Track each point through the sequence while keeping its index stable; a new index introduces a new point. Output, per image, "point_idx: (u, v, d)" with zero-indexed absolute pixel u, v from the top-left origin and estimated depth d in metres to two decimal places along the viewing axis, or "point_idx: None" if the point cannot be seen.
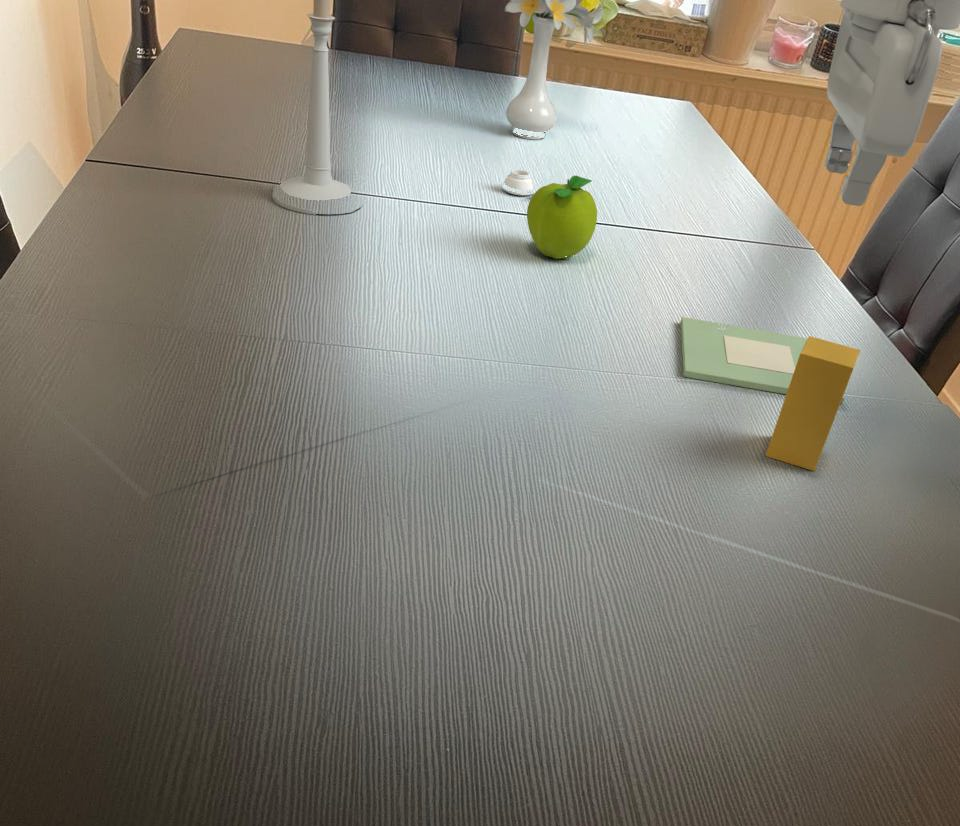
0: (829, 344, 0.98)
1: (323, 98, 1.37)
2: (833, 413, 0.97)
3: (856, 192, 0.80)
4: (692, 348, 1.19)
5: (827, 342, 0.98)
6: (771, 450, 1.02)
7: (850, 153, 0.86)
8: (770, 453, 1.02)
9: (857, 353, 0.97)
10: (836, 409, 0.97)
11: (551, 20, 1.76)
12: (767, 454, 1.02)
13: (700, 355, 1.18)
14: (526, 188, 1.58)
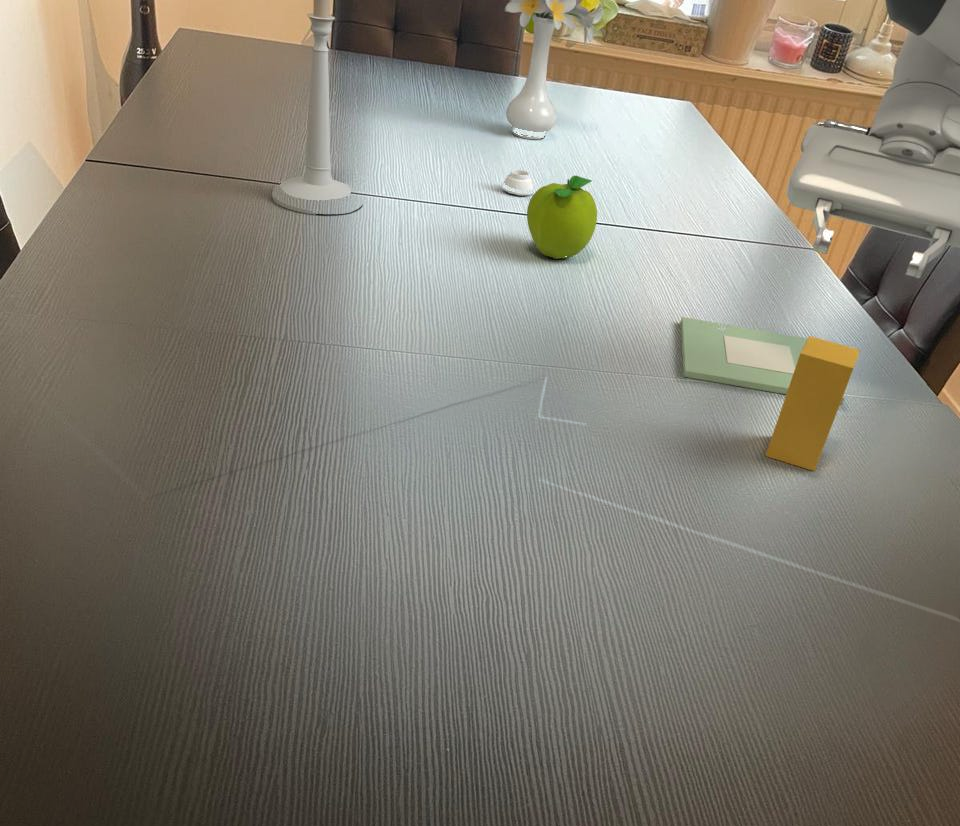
0: (829, 344, 0.98)
1: (323, 98, 1.37)
2: (833, 413, 0.97)
3: None
4: (692, 348, 1.19)
5: (827, 342, 0.98)
6: (771, 450, 1.02)
7: None
8: (770, 453, 1.02)
9: (857, 353, 0.97)
10: (836, 409, 0.97)
11: (551, 20, 1.76)
12: (767, 454, 1.02)
13: (700, 355, 1.18)
14: (526, 188, 1.58)
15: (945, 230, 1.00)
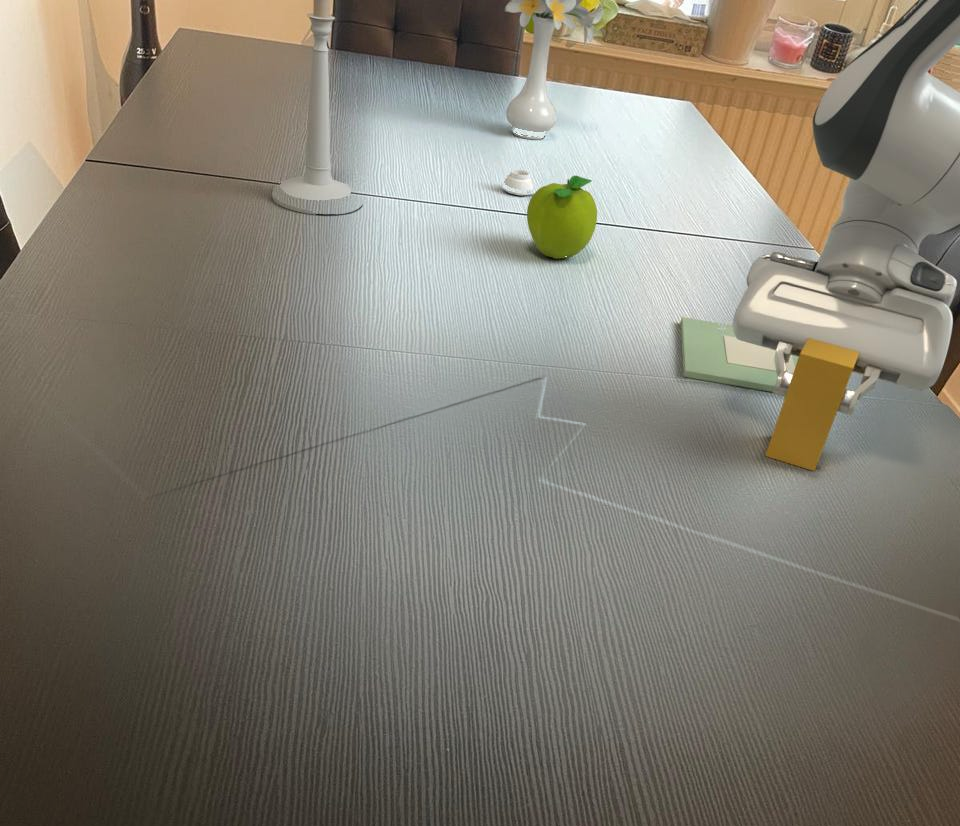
0: (829, 344, 0.98)
1: (323, 98, 1.37)
2: (833, 413, 0.97)
3: None
4: (692, 348, 1.19)
5: None
6: (771, 450, 1.02)
7: None
8: (770, 453, 1.02)
9: (857, 353, 0.97)
10: (836, 409, 0.97)
11: (551, 20, 1.76)
12: (767, 454, 1.02)
13: (700, 355, 1.18)
14: (526, 188, 1.58)
15: (876, 368, 0.97)
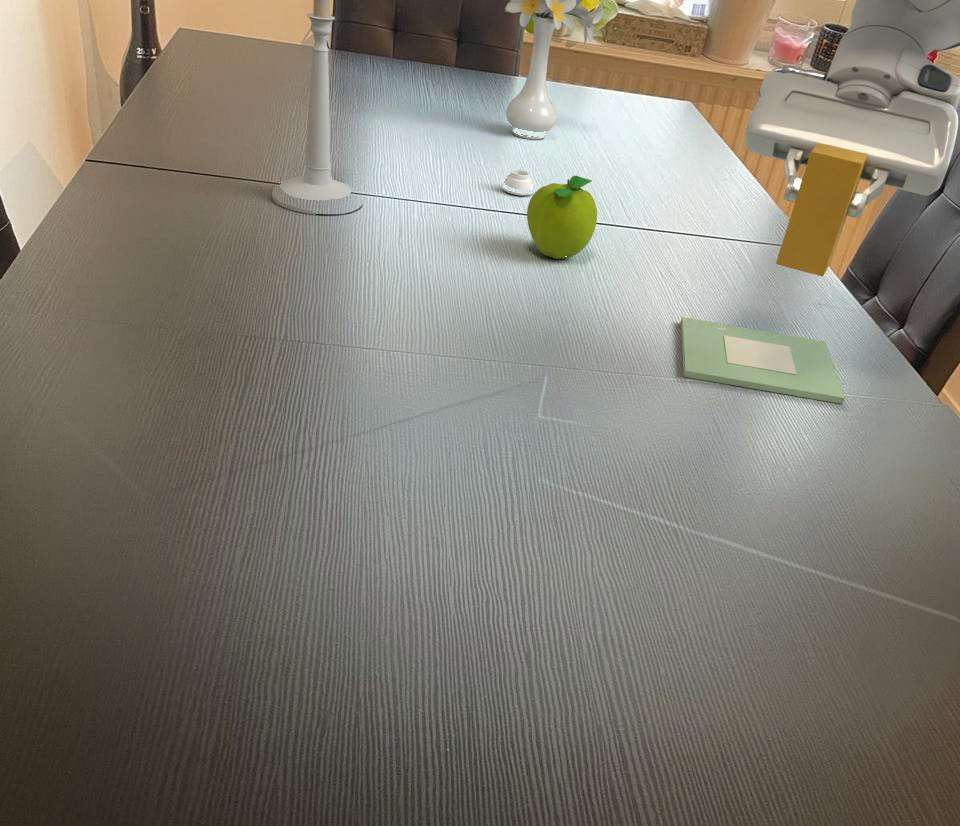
0: (839, 147, 1.01)
1: (323, 98, 1.37)
2: (842, 213, 1.00)
3: None
4: (692, 348, 1.19)
5: None
6: (781, 257, 1.05)
7: (853, 193, 1.01)
8: (780, 260, 1.05)
9: (865, 154, 1.00)
10: (845, 208, 1.00)
11: (551, 20, 1.76)
12: (777, 262, 1.05)
13: (700, 355, 1.18)
14: (526, 188, 1.58)
15: (884, 170, 1.01)
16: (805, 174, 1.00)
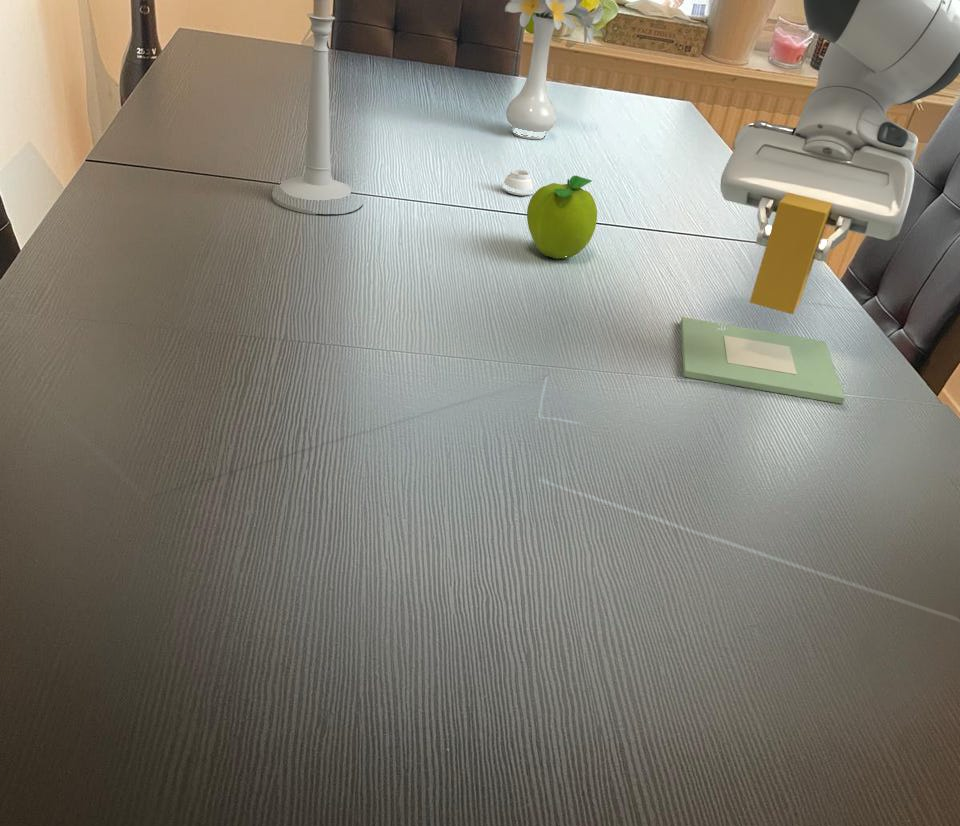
0: (806, 197, 1.10)
1: (323, 98, 1.37)
2: (809, 257, 1.10)
3: None
4: (692, 348, 1.19)
5: None
6: (754, 296, 1.14)
7: (819, 239, 1.10)
8: (754, 299, 1.14)
9: (830, 204, 1.09)
10: (811, 253, 1.09)
11: (551, 20, 1.76)
12: (751, 300, 1.14)
13: (700, 355, 1.18)
14: (526, 188, 1.58)
15: (847, 218, 1.10)
16: (774, 222, 1.09)
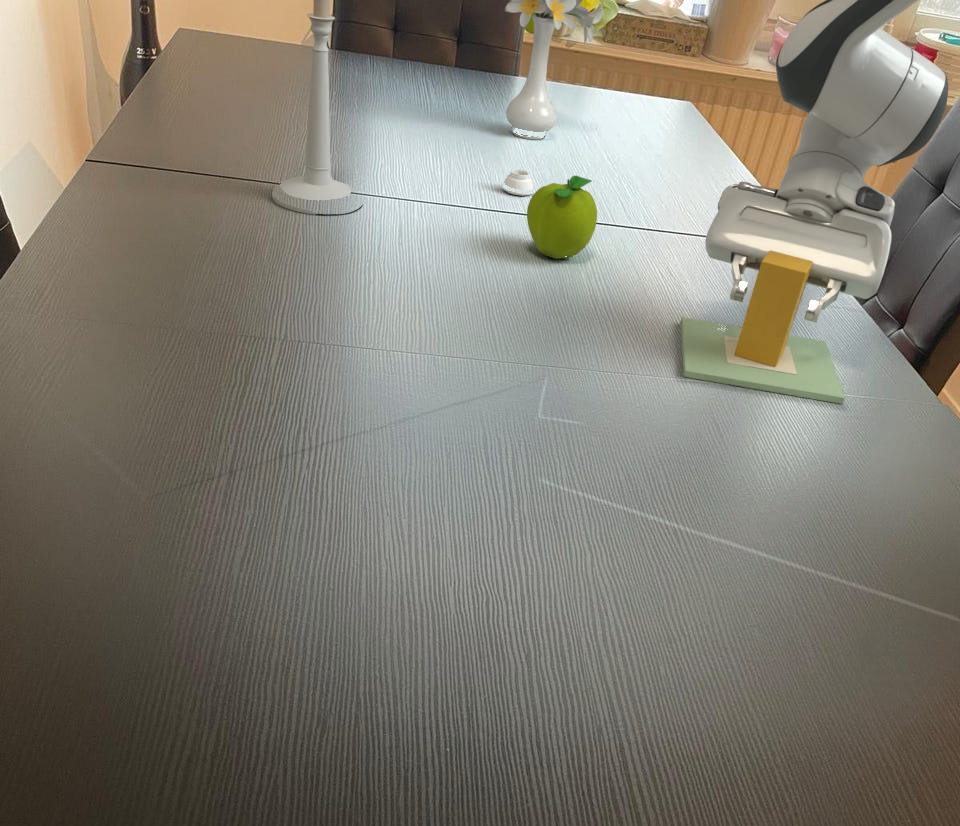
0: (787, 255, 1.14)
1: (323, 98, 1.37)
2: (790, 314, 1.14)
3: None
4: (692, 348, 1.19)
5: (785, 254, 1.15)
6: (738, 349, 1.18)
7: None
8: (738, 352, 1.18)
9: (811, 262, 1.13)
10: (793, 310, 1.13)
11: (551, 20, 1.76)
12: (735, 353, 1.18)
13: (700, 355, 1.18)
14: (526, 188, 1.58)
15: (837, 281, 1.14)
16: (757, 280, 1.13)
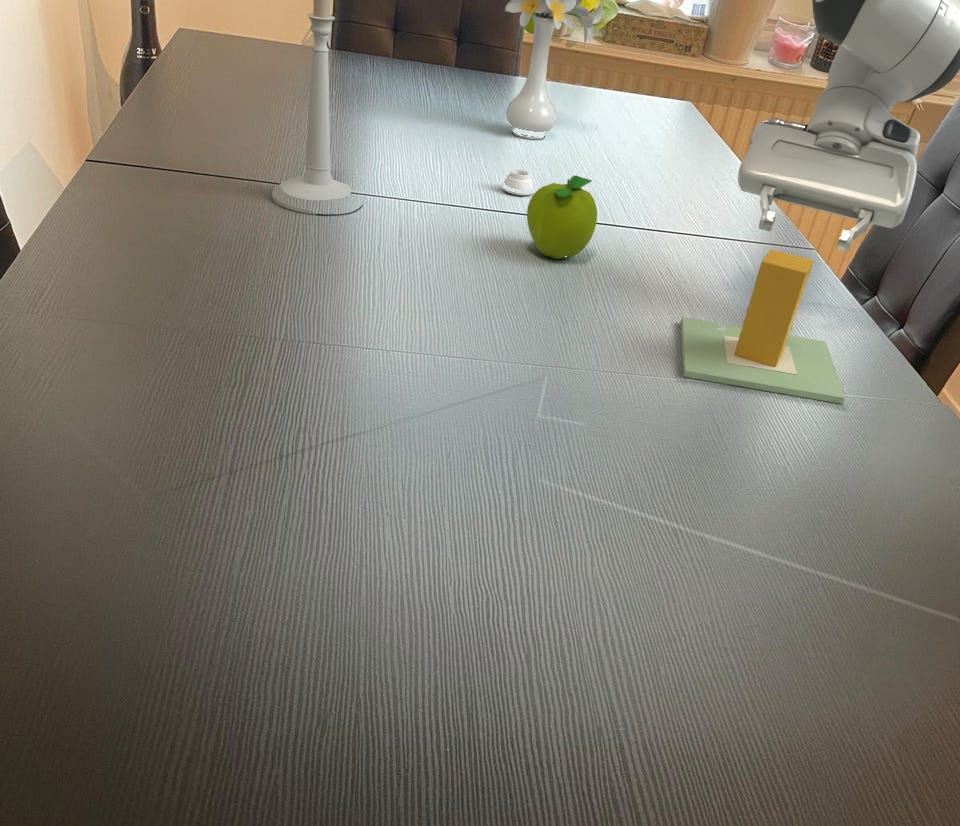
0: (787, 255, 1.14)
1: (323, 98, 1.37)
2: (790, 314, 1.14)
3: None
4: (692, 348, 1.19)
5: (785, 254, 1.15)
6: (738, 349, 1.18)
7: (842, 230, 1.20)
8: (738, 352, 1.18)
9: (811, 262, 1.13)
10: (793, 310, 1.13)
11: (551, 20, 1.76)
12: (735, 353, 1.18)
13: (700, 355, 1.18)
14: (526, 188, 1.58)
15: (868, 211, 1.19)
16: (757, 280, 1.13)
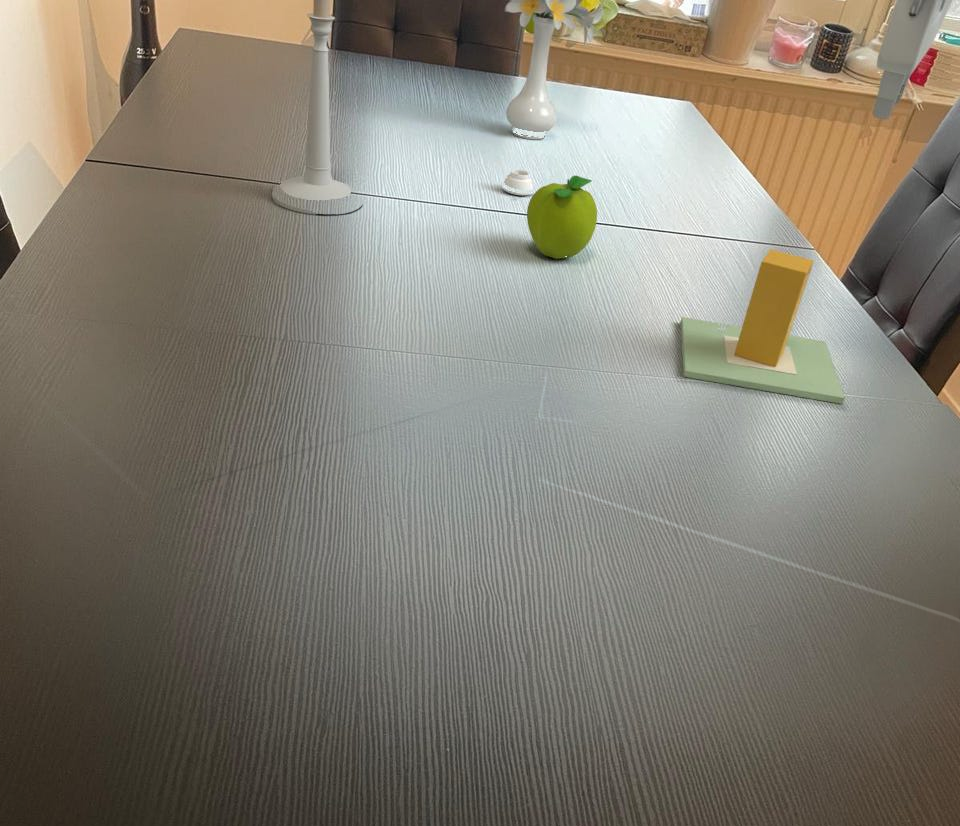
0: (787, 255, 1.14)
1: (323, 98, 1.37)
2: (790, 314, 1.14)
3: (883, 108, 1.02)
4: (692, 348, 1.19)
5: (785, 254, 1.15)
6: (738, 349, 1.18)
7: (902, 87, 1.09)
8: (738, 352, 1.18)
9: (811, 262, 1.13)
10: (793, 310, 1.13)
11: (551, 20, 1.76)
12: (735, 353, 1.18)
13: (700, 355, 1.18)
14: (526, 188, 1.58)
15: None
16: (757, 280, 1.13)
